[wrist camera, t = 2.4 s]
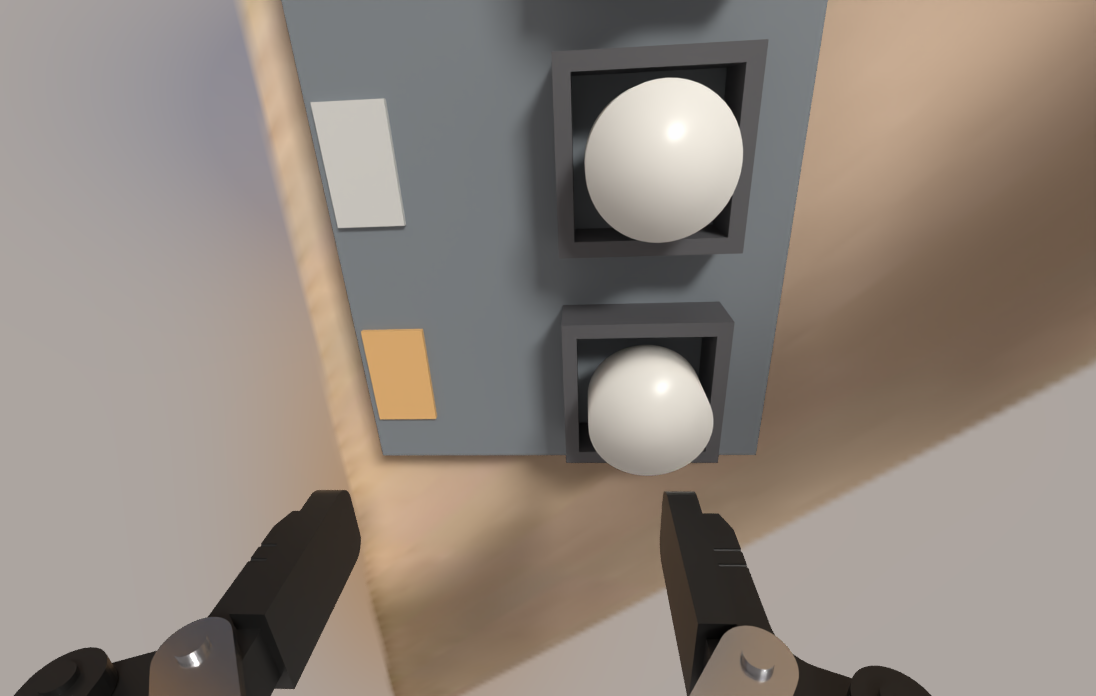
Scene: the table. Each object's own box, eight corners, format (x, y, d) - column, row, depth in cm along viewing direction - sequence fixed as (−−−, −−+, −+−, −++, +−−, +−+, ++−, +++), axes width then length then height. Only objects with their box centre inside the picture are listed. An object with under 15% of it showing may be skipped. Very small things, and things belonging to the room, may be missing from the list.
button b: (729, 77, 14) (752, 73, 12) (716, 225, 16) (733, 240, 14) (583, 85, 14) (583, 82, 12) (585, 229, 16) (585, 245, 14)
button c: (704, 343, 17) (719, 370, 15) (695, 441, 19) (707, 475, 17) (587, 345, 18) (587, 373, 16) (588, 441, 19) (589, 475, 17)
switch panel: (853, -366, 13) (959, -553, 9) (741, 427, 23) (772, 486, 19) (250, -299, 14) (134, -442, 10) (397, 429, 24) (366, 485, 20)
